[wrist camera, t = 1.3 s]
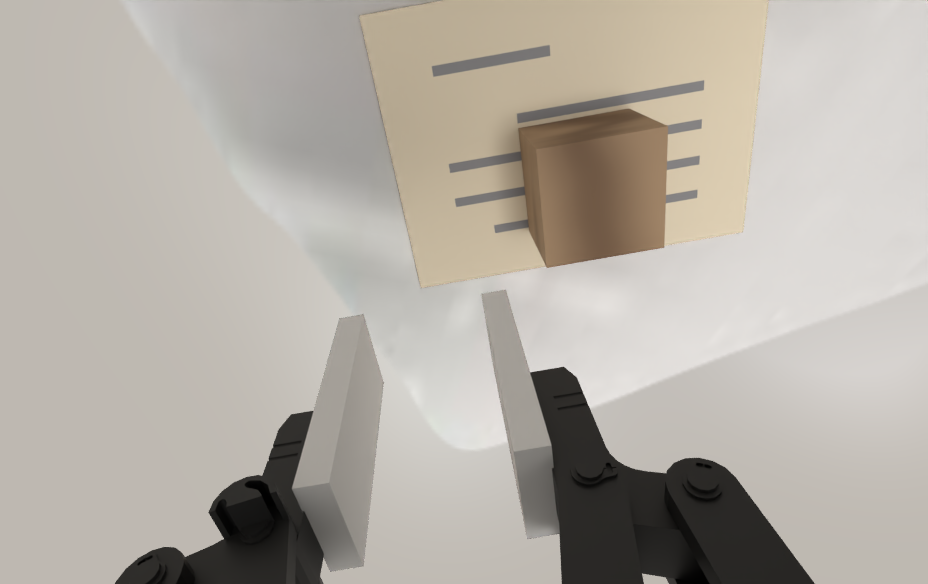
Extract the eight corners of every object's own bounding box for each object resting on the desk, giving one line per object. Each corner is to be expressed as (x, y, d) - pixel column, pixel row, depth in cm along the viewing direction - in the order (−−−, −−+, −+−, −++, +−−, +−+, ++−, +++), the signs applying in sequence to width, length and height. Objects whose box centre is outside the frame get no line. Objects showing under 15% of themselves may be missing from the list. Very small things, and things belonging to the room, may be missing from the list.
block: (629, 108, 27) (668, 126, 23) (629, 213, 30) (664, 247, 26) (518, 128, 28) (535, 149, 23) (529, 231, 30) (546, 267, 26)
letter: (772, -60, 24) (775, -61, 24) (741, 230, 32) (743, 232, 31) (359, 15, 25) (359, 15, 25) (421, 286, 32) (421, 288, 32)
